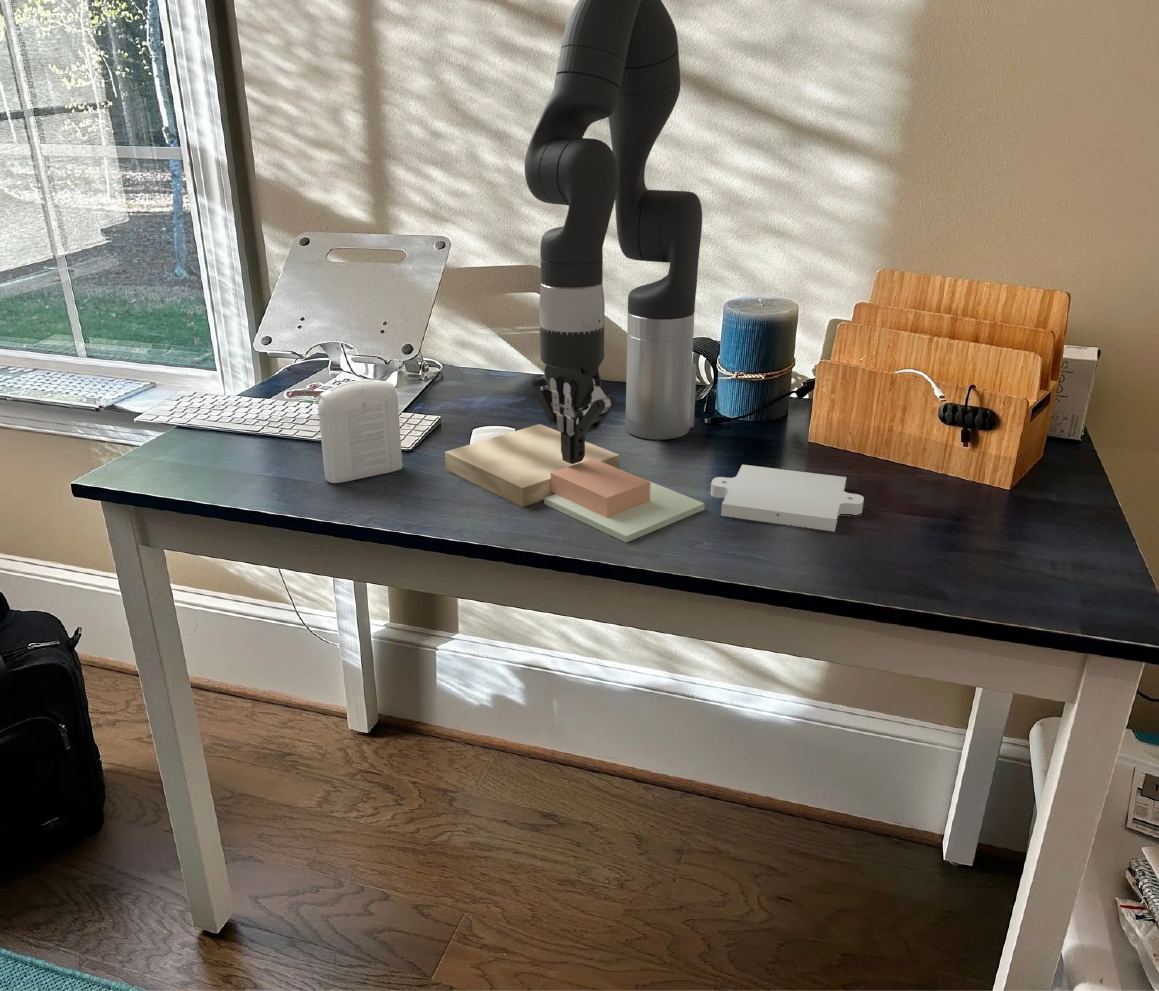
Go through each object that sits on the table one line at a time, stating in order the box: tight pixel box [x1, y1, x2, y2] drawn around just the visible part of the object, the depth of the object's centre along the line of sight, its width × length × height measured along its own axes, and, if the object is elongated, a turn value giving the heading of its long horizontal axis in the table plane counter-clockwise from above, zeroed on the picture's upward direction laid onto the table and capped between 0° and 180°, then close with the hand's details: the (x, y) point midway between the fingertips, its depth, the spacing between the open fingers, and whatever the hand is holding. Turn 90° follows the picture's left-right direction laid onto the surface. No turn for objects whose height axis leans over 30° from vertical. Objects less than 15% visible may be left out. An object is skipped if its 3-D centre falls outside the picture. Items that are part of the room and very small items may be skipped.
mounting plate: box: [710, 464, 865, 533], centre depth 115 cm, size 18×13×2 cm
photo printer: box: [317, 379, 403, 484], centre depth 121 cm, size 10×4×12 cm, turn 123°
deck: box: [444, 423, 620, 508], centre depth 124 cm, size 16×16×2 cm
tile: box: [550, 459, 651, 518], centre depth 114 cm, size 7×10×2 cm
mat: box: [543, 477, 706, 543], centre depth 114 cm, size 13×14×1 cm
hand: (572, 460), depth 117 cm, fingers closed
